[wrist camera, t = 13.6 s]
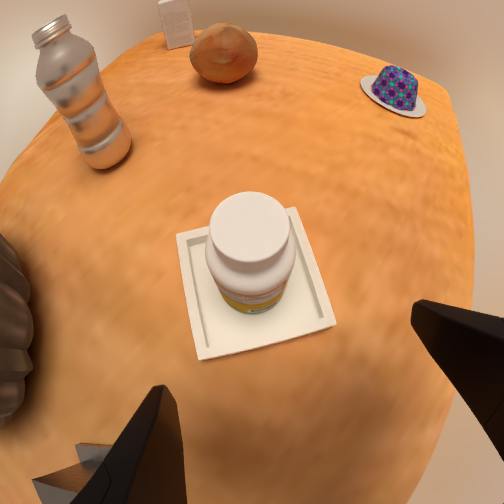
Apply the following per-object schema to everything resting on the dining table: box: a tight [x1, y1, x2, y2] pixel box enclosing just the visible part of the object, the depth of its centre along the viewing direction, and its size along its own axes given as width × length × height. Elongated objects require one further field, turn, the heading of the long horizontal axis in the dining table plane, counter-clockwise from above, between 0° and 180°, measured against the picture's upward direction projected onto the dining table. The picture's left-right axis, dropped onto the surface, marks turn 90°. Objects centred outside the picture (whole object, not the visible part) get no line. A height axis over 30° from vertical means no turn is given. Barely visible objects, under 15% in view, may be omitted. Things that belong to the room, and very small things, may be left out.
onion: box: [190, 22, 258, 84], centre depth 31 cm, size 10×10×10 cm
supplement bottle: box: [205, 192, 296, 314], centre depth 18 cm, size 5×5×10 cm
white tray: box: [176, 207, 337, 361], centre depth 22 cm, size 11×11×2 cm
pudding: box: [361, 65, 426, 117], centre depth 33 cm, size 12×12×5 cm
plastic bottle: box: [32, 14, 131, 169], centre depth 20 cm, size 6×7×20 cm
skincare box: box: [158, 0, 195, 50], centre depth 38 cm, size 6×4×12 cm
